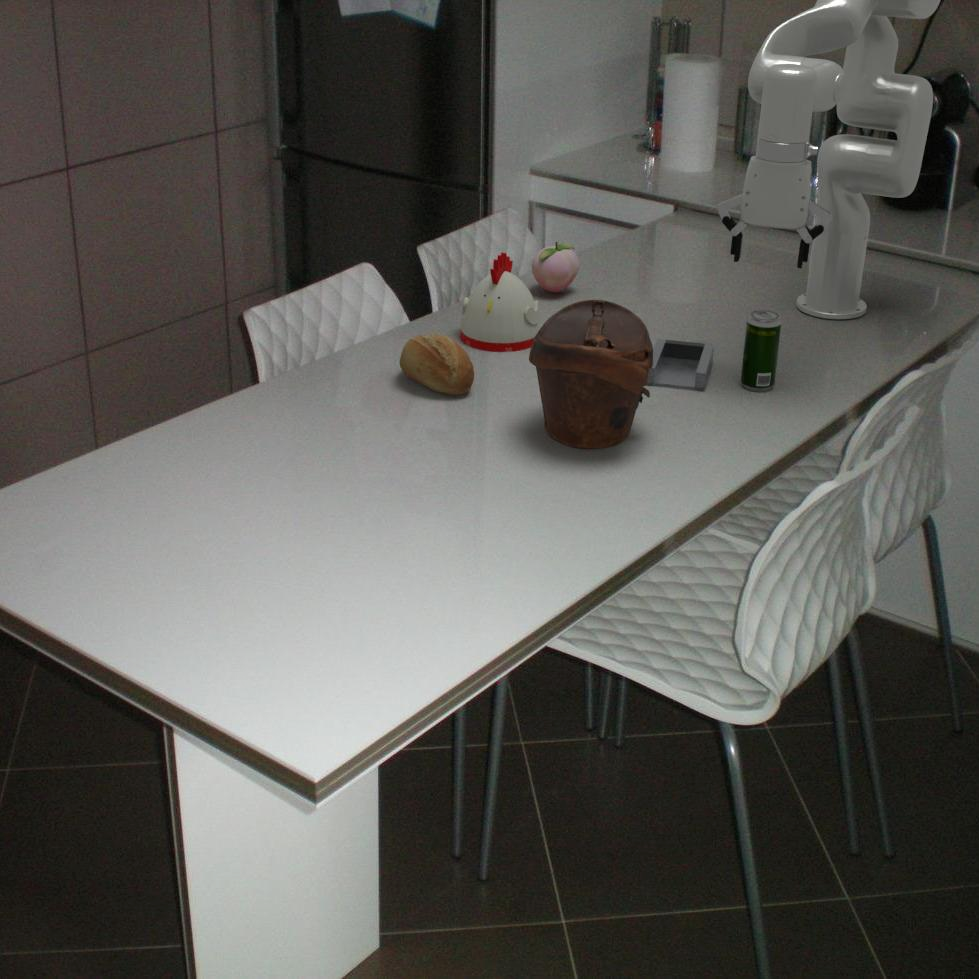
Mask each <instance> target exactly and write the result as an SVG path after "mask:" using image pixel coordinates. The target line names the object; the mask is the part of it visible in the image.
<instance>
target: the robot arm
mask: <svg viewBox="0 0 979 979" xmlns="http://www.w3.org/2000/svg"><path fill="white" fill-rule="evenodd" d="M940 2H941V0H816V2H815V4H814V6H813V7H811V8H808V9H807V10H805V11H802V12H800V13H799V14H797V15H795V16H793V17H791V18H789V19H788V20H786V21H784V22H783V23H780V25H778V26H777V27H775V28H773V30H771V32H770V33H769V34H768V35H767V37H766V38H765V39H764V41H763V42H762V45H761V47H760V48H759V50H758V52H757V54H756V56H755V58H754V59H753V63H752V64H751V67H750V69H749V74H748V78H747V89H748V93H749V95H750V97H751V99H753V101H755V102H756V103H757V104H760V105H761V106H760V113H759V122H758V130H757V131H758V132H757V139H756V140H757V141H756V146H755V147H756V148H755V155H752V156H751V157H750V159H749V162H748V166H747V168H746V169H747V170H746V174H745V178H744V184H743V189H742V193H741V194H738V195H736V196H733V197H731V198H729V199H726V200H723V201H721V202H719V203H718V204H717V206H716V210H717V212H718V214H719V217H720V219H721V223H722V224H723V225H724V226H725V228H726V229H727V230H728V232H730V235H731V245H730V252H729V253H730V256H731V255H733V256H734V257H733V262H735V263H738V262H739V260H740V258H741V253H742V244H743V236H744V234H743V233H742V232H743V230H744V229H745V228H747V227H748V226H751V227H761V228H771V229H780V230H781V229H782V230H792V231H793V230H796V231H797V233H798V234H799V236H800V237H801V239H800V241H799V242H800V243H799V248H798V250H799V251H798V255H797V265H796V268H798V269H802V268H803V263H808V260H809V253H810V252H809V251H810V246H811V253H810V260H809V270H808V277H807V284H806V292H804V293H802V294H800V295H799V296H797V299H796V303H795V304H796V305H795V306H796V308H797V309H798V310H799V311H801V312H803V313H804V314H806V315H810V316H813V317H816V318H821V319H826V320H827V319H829V320H851V319H856V318H860V317H861V316H863V315H865V314H866V313H867V308H868V306H867V303H866V302H865V301H864V300H863V299H861V298H860V294H861V288H862V280H863V274H864V268H865V266H864V265H865V262H866V252H867V246H868V239H869V232H870V225H871V213H870V209H869V207H868V205H867V202H866V200H865V198H864V196H863V194H865V195H873V196H874V195H875V196H881V197H889V198H895V199H896V198H898V199H899V198H907V197H908V196H910V195H911V194H912V193H913V192H914V190H915V188H916V186H917V183H918V181H919V177H920V173H921V168H922V162H923V159H924V158H923V157H924V153H925V149H926V148H925V146H926V143H927V138H928V137H927V136H928V133H929V128H930V123H931V118H932V114H933V112H932V111H933V105H934V104H933V103H934V92H933V88H932V84H931V83H930V82H929V81H928V79H926V78H924V77H923V76H919V75H914V74H913V75H912V74H904V73H896V72H895V67H896V62H897V61H896V60H897V54H898V50H899V38H898V35H897V33H896V30H895V28H894V27H893V24H892V23H891V21H890V19H889V18H888V17H892V18H901V19H902V18H904V19H913V20H925V19H927V18H929V17H931V16H932V15H933V14H934V13H935V12H936V10H937V9H938V7H939V5H940ZM843 48H846V49H845V55H844V62H843V67H842V66H841V65H840V64H838V63H837V62H835V61H832V60H829V59H824V58H823V59H822V58H815V57H809V56H814V55H819V54H825V53H829V52H832V51H833V52H835V51H836V50H837V51H838V50H841V49H843ZM835 106H836V114H837V118H838V119H839V121H840V122H842V123H843V124H845V125H848V126H852V127H856V128H862V129H868V130H869V129H870V130H878V131H887V132H893V133H895V135H896V138H897V139H896V140H895V139H889V138H888V139H887V138H879V137H874V136H867V135H859V134H848V133H845V134H836V135H832V136H830V137H828V138H827V139H825V140H824V141H823V142H822V144H821V145H820V147H819V146H818V145H814V144H811V142H810V136H811V128H812V127H811V126H812V120H813V113H816V112H817V113H818V112H819V113H821V112H827V111H830V110H832V109H833V108H834V107H835ZM813 156H817V159H816V160H817V161H816V165H817V166H816V167H817V168H816V169H817V170H816V171H817V174H816V175H817V201H816V202H817V203H816V202H815V201H813V200H812V199H811V196H812V182H813V181H812V180H813V179H812V178H813V169H812V166H813V165H812V161H811V160H808V159H807V158H809V157H813ZM737 206H740V211H739V220H737V221H735V220H734V219H733V217H731V214H730V213H729V210H731V209H732V208H735V207H737ZM810 213H812V214H814V216H815V220H814V227H812V228H810V227H809V226H808V224H807V221H808V220H809V215H810ZM811 243H812V245H811Z"/></svg>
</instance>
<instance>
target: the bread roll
mask: <svg viewBox="0 0 979 979" xmlns="http://www.w3.org/2000/svg"><path fill="white" fill-rule="evenodd" d="M398 364H399V367H400V369H401V371H402V372H403V374H405V376H407V378H410V379H411V380H412V381H415V382H418V383H419V384H422V385H423V386H425V387H427V388H428V389H431V390H433V391H435V392H439V393H442V394H447V395H455V396H456V395H463V394H466V393H468V392H470V390H471V388H472V386H473V383H474V381H475V370H474V364H473V363H472V361H471V358H470V356H469V355H468V352H467V351H466V350H465V349H464V348H463V347H462V346H461V345H460V344H459V343H458V342H456V341H455V340H454V339H452V338H451V337H449V336H447V335H446V334H445V335H444V334H437V333H436V334H435V333H434V334H433V333H431V334H430V333H429V334H425V335H424V334H423V335H416V336H413V337H412V338H409V339H408V340H407V342H405V344H404V346H403V347H402V351H401V353H400V357H399V363H398Z"/></svg>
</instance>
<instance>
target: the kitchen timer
mask: <svg viewBox="0 0 979 979" xmlns="http://www.w3.org/2000/svg"><path fill="white" fill-rule="evenodd" d="M510 259H511V257H510V256H507V252H500V254H497V258H496V259H493V265H492V267H493V268H490V269H489V270H490V274H487V275H486V276H485V277H484V278H483V279H482V280H480V282H479V283H478V284H477V285H476V286H475V288H474V289H473V290H472V292H471V294H470V296H469V297H466V296H465V297H464V300H463V304H462V310H461V314H462V317H461V324H460V340H461V341H462V342H463V344H465V345H467V346H468V347H470V348H472V349H476V350H480V351H485V352H491V353H494V352H495V353H512V352H518V351H525V350H528V349H531V346H532V343H533V339H534V337H535V336H536V334H537V333H538V331H539V330H540V329H541V327H542V325H541V321H540V316H541V315H540V314H541V313H540V305H539V303H540V302H539V300H535V299H534V298H533V297H534V296H533V295H532V293H531V291H530V289H529V288H528V286H527V285H526V284H525V282H523V281H522V280H521V279H520V278H519V277H518V276H516V275H515V274H514V273H512V270H513V262H514V261H513V260H510Z"/></svg>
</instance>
